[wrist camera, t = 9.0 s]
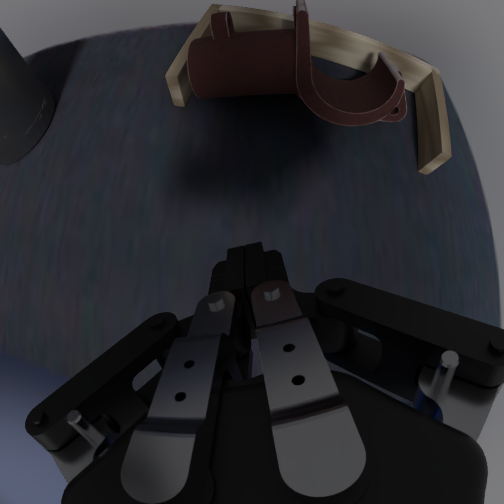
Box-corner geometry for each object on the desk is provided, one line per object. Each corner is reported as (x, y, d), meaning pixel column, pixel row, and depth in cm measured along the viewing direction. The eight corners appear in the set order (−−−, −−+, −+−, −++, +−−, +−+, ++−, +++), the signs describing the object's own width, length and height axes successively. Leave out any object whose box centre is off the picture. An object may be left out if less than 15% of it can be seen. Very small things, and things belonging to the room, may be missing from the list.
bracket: (411, 138, 20) (431, 25, 12) (204, 135, 23) (172, 25, 15) (393, 102, 23) (403, 8, 15) (219, 100, 26) (197, 8, 18)
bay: (174, 105, 23) (165, 75, 19) (214, 31, 24) (212, 4, 20) (426, 175, 22) (451, 156, 19) (421, 90, 24) (438, 69, 20)
